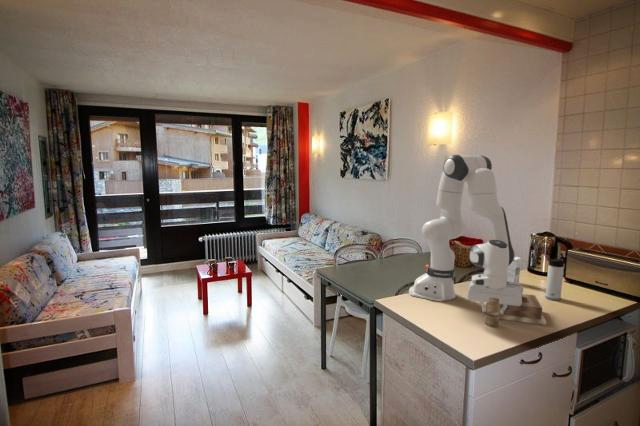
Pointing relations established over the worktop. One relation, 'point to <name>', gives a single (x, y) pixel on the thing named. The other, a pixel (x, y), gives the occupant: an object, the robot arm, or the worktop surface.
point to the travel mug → (554, 279)
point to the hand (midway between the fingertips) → (492, 312)
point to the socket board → (525, 311)
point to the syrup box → (514, 270)
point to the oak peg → (492, 312)
